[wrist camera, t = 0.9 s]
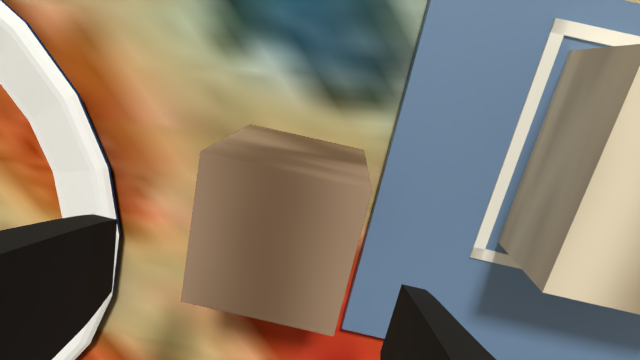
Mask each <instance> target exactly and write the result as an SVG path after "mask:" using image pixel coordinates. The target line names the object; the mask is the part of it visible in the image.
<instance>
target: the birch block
mask: <svg viewBox="0 0 640 360" xmlns="http://www.w3.org/2000/svg"><path fill="white" fill-rule="evenodd" d="M498 243H499V244H500V245H501V246H502V247H503V248H504V249H505V251H506V252H507V253H508V254H509V255H510V256H511V257H512V258H513V260H514V261H515V262H516V263H517V264H518V265H519V266H520V268H521V269H522V270H523V271H524V272H525V273H526V274H527V276H528V277H529V278H530V279H531V280H532V281H533V282H534V283H535V285H536V286H537V287H538V288H539V289H540V290H541V291H542V292H543V293H547V294H551V295H556V296H560V297H565V298H569V299H573V300H578V301H582V302H587V303H591V304H595V305H600V306H604V307H608V308H613V309H617V310H622V311H626V312H630V313H635V314H639V315H640V44H633V45H623V46H612V47H601V48H590V49H580V50H570V51H569V54H568V57H567V59H566V62H565V65H564V67H563V70H562V73H561V75H560V78H559V81H558V83H557V86H556V89H555V91H554V94H553V96H552V99H551V102H550V104H549V107H548V110H547V112H546V115H545V118H544V120H543V123H542V126H541V128H540V131H539V134H538V136H537V139H536V142H535V144H534V147H533V150H532V152H531V155H530V157H529V160H528V163H527V165H526V168H525V171H524V173H523V176H522V179H521V181H520V184H519V187H518V189H517V192H516V195H515V197H514V200H513V203H512V205H511V208H510V211H509V213H508V216H507V219H506V221H505V224H504V226H503V229H502V232H501V234H500V237H499V240H498Z"/></svg>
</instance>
